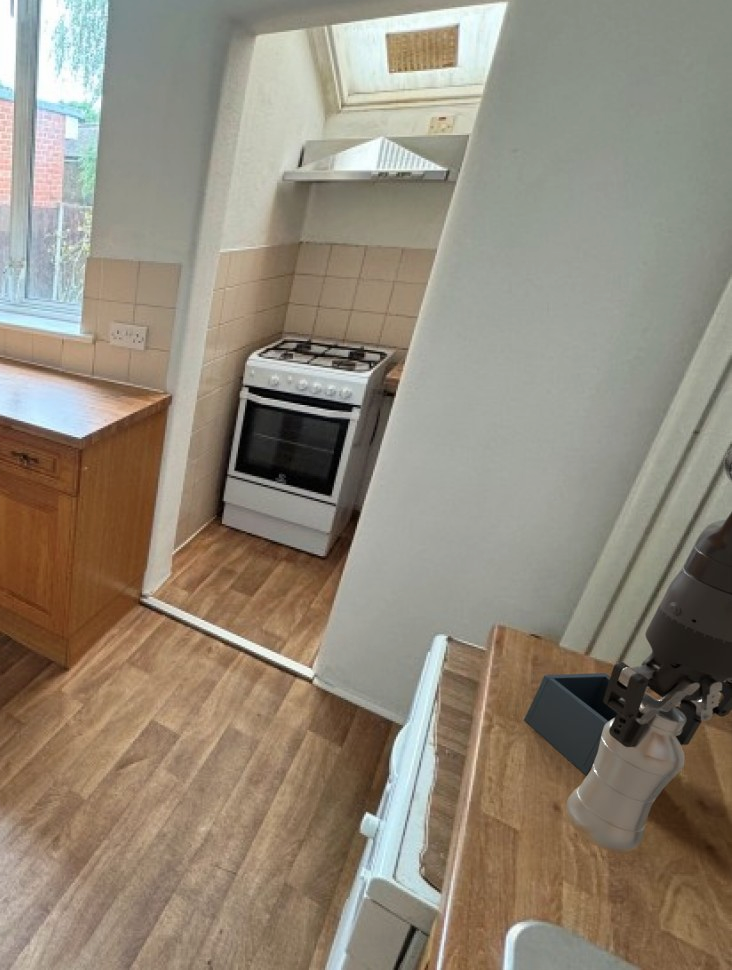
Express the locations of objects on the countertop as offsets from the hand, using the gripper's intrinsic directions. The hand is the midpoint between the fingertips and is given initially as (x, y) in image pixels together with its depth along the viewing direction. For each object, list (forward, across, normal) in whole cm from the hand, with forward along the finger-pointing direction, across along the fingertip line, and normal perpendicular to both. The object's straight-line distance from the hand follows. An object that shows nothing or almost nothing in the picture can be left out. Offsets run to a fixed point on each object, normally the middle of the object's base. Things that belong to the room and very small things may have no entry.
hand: (647, 739), depth 68 cm
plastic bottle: (+16, 0, 0) cm, 16 cm away
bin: (+24, +23, +20) cm, 39 cm away
